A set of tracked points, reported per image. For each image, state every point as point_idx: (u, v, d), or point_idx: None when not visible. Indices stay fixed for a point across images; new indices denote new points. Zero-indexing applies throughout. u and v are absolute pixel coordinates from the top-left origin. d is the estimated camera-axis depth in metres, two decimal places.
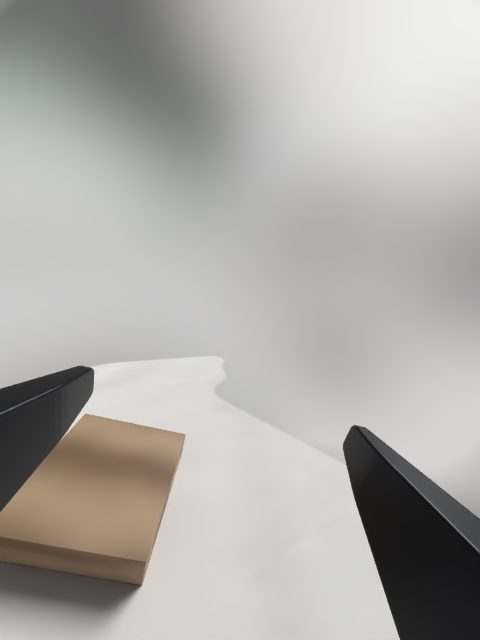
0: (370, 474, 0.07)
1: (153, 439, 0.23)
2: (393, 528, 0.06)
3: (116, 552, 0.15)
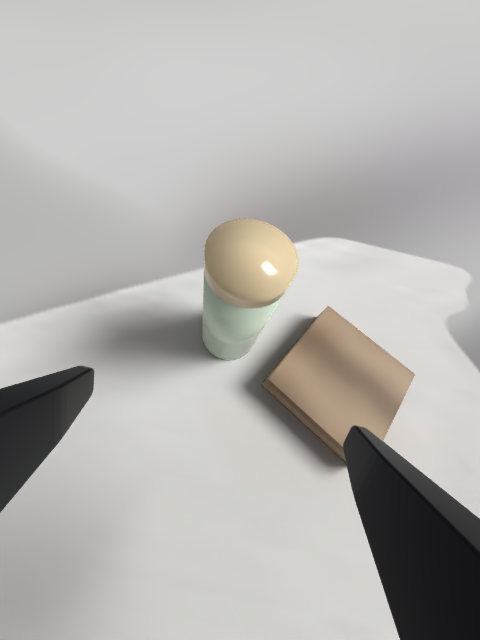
0: (370, 474, 0.07)
1: (384, 364, 0.22)
2: (393, 528, 0.06)
3: None
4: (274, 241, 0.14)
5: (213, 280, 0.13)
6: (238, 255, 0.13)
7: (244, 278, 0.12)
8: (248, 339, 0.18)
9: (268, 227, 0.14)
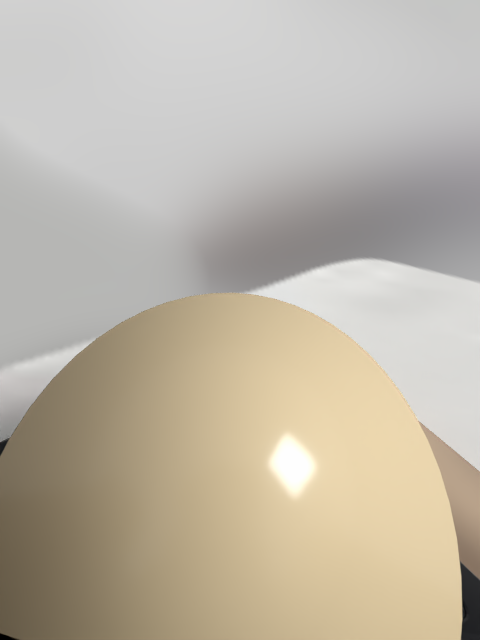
0: None
1: None
2: None
3: None
4: (333, 395, 0.03)
5: None
6: (167, 523, 0.02)
7: None
8: None
9: (305, 326, 0.04)
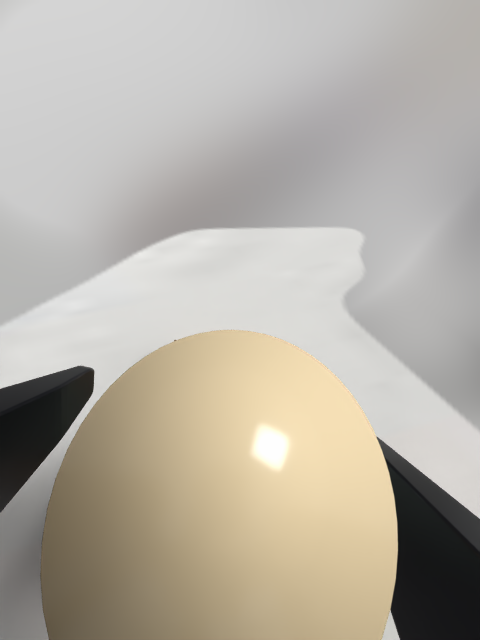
0: None
1: None
2: None
3: None
4: (308, 413, 0.04)
5: None
6: (184, 510, 0.03)
7: None
8: None
9: (289, 357, 0.05)
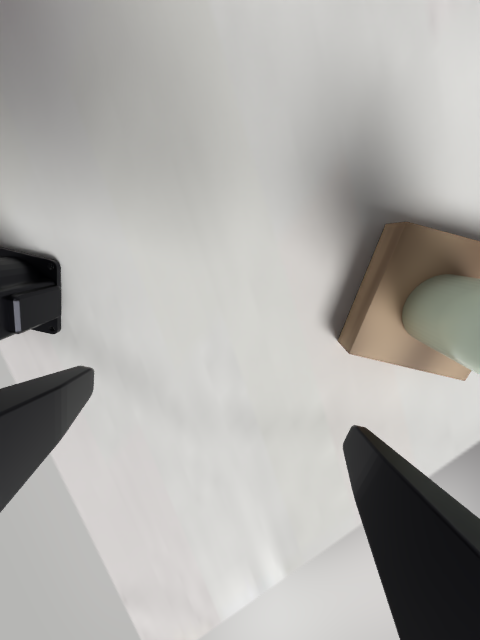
0: (370, 474, 0.07)
1: None
2: (393, 528, 0.06)
3: (361, 332, 0.18)
4: None
5: None
6: None
7: None
8: (464, 358, 0.13)
9: None
